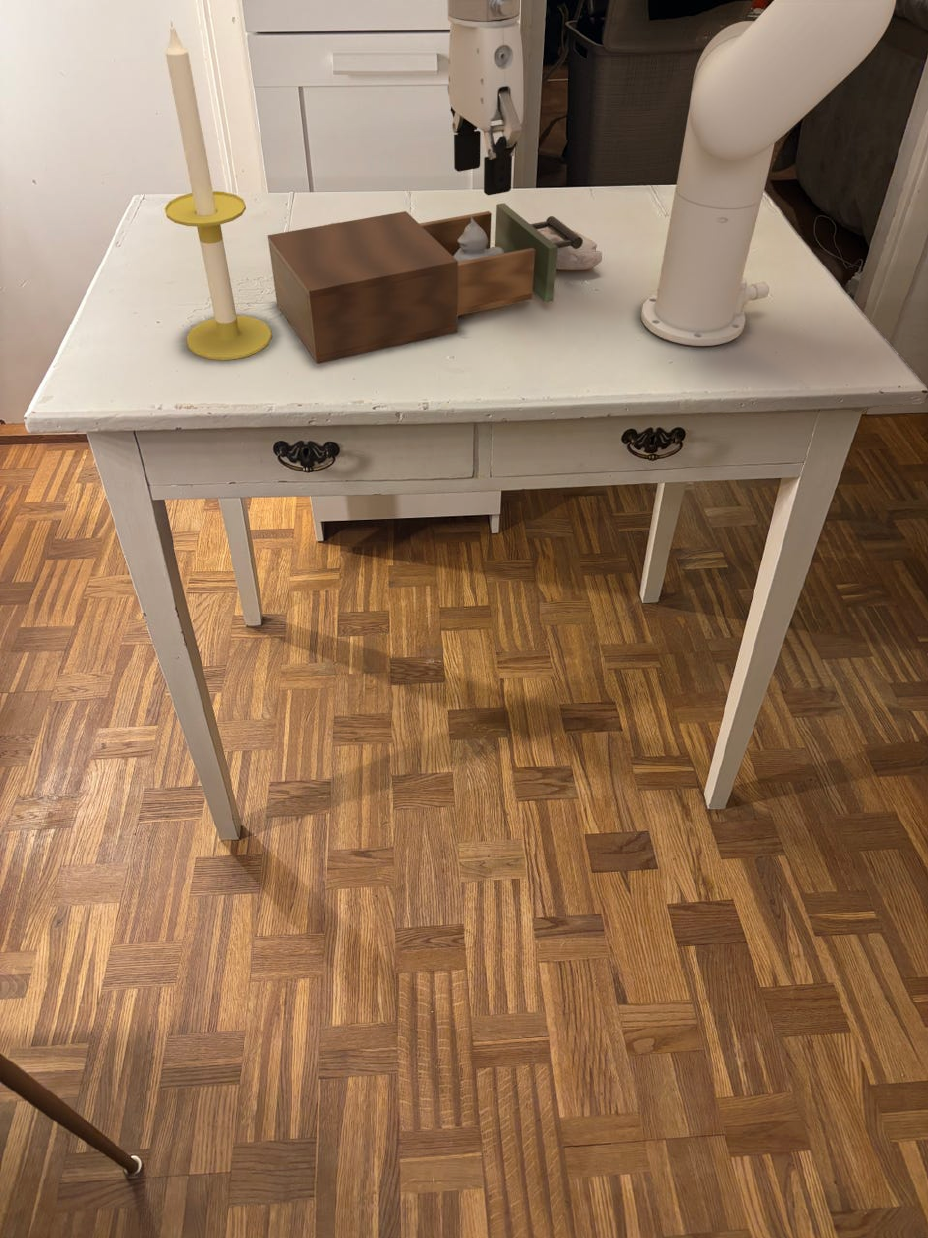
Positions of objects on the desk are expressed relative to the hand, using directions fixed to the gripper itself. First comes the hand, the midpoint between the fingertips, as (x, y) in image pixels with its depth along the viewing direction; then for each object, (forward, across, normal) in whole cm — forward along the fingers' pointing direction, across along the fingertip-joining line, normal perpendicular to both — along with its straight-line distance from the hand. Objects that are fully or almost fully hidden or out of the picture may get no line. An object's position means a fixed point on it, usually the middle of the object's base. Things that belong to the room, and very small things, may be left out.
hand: (482, 179), depth 108 cm
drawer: (+13, 0, -1) cm, 14 cm away
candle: (+14, +2, +32) cm, 35 cm away
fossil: (+15, +4, -14) cm, 21 cm away
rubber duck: (+12, 0, 0) cm, 12 cm away
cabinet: (+14, 0, +16) cm, 21 cm away
